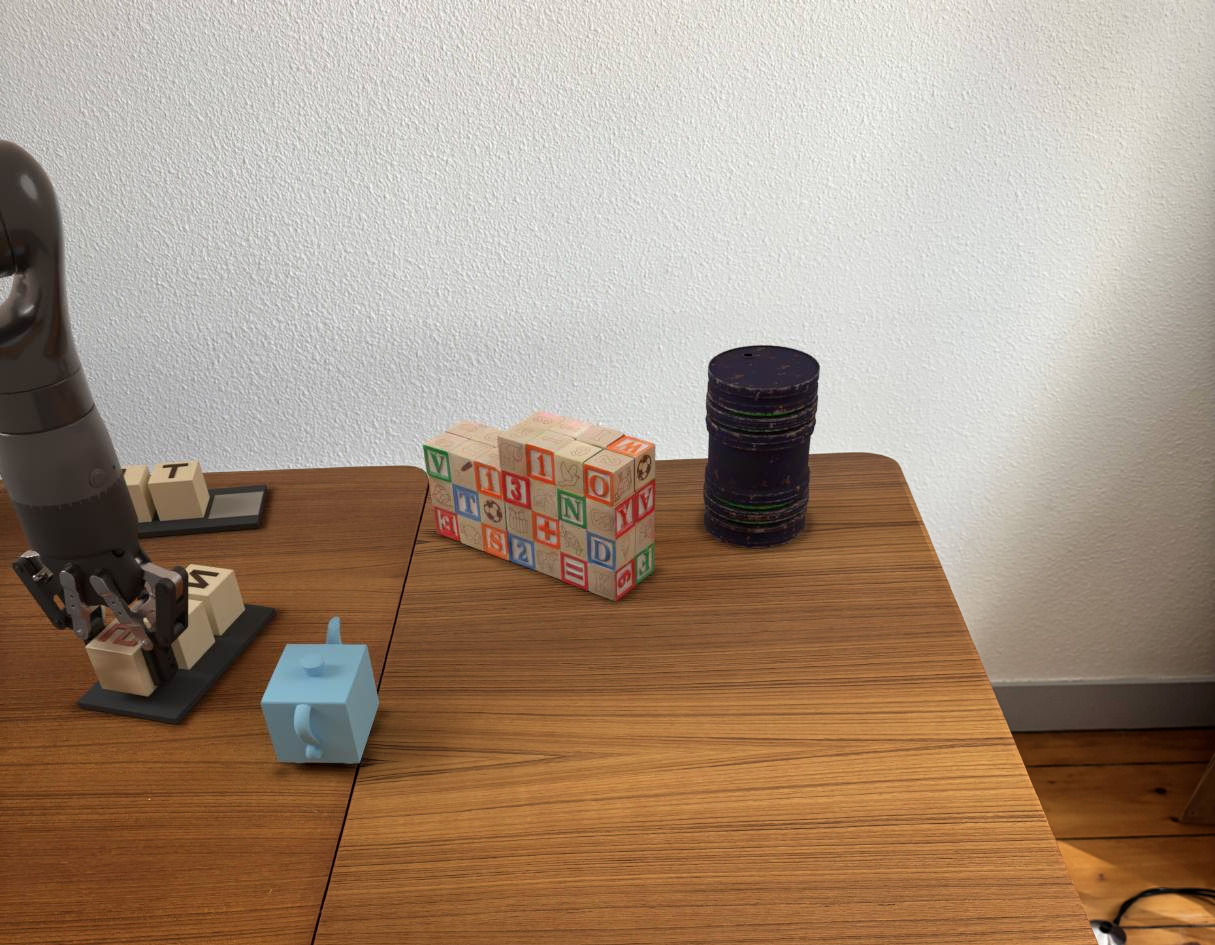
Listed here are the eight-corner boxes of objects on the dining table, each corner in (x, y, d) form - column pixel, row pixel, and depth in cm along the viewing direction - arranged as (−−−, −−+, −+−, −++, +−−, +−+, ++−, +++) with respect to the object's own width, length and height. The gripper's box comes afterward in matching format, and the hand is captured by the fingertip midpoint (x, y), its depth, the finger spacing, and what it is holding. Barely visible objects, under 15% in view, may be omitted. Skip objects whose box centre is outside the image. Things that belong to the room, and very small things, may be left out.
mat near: (78, 707, 90) (57, 659, 87) (186, 600, 101) (171, 553, 98) (177, 725, 88) (159, 675, 85) (276, 613, 99) (264, 566, 96)
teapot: (315, 685, 91) (294, 606, 86) (389, 686, 91) (373, 606, 86) (275, 785, 82) (250, 703, 77) (357, 786, 82) (337, 703, 77)
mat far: (101, 541, 109) (84, 496, 106) (118, 501, 115) (103, 458, 112) (258, 528, 110) (246, 483, 107) (267, 489, 116) (256, 446, 113)
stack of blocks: (434, 535, 108) (415, 410, 100) (477, 508, 112) (462, 385, 103) (617, 602, 99) (613, 470, 90) (657, 570, 102) (657, 440, 94)
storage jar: (825, 534, 106) (843, 376, 96) (732, 558, 104) (739, 398, 93) (774, 489, 113) (785, 336, 103) (685, 510, 110) (687, 356, 100)
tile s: (101, 688, 89) (84, 645, 86) (132, 658, 92) (116, 615, 89) (148, 697, 88) (132, 653, 85) (177, 666, 91) (162, 623, 88)
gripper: (183, 461, 79) (243, 662, 91) (11, 440, 82) (90, 637, 94) (121, 513, 74) (193, 719, 86) (-60, 488, 77) (33, 690, 89)
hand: (139, 675), depth 90 cm, fingers closed on tile s, 4 cm apart
